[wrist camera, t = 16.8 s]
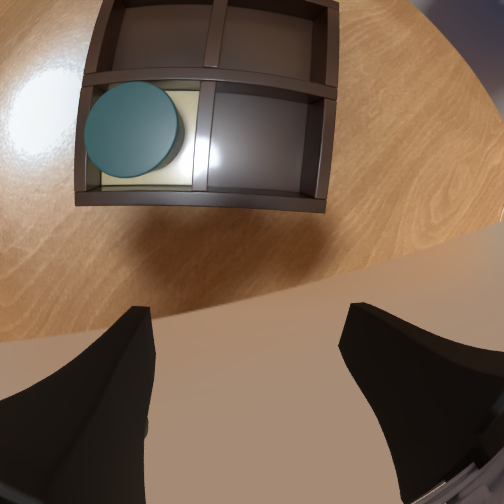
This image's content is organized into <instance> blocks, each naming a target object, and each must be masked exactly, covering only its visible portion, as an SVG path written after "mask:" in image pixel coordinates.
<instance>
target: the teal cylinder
mask: <svg viewBox="0 0 504 504" xmlns="http://www.w3.org/2000/svg"><path fill="white" fill-rule="evenodd" d="M184 136H185V128H184V123H183V120H182V117H181V115H180V113H179V112H178V110H177V108H176V106H175V104H174V102H173V101H172V99H171V98H170V96H169V95H168V94H167V93H166V92H165V91H164V90H163V89H161V88H160V87H158V86H156V85H154V84H152V83H148V82H143V81H132V82H126V83H122V84H120V85H117V86H115V87H113V88H112V89H110V90H108V91H107V92H106V93H104V94H103V95H102V96H101V97H100V98H99V99H98V100H97V101H96V103H95V104H94V106H93V107H92V109H91V110H90V112H89V114H88V117H87V120H86V123H85V129H84V143H85V147H86V151H87V153H88V156H89V158H90V159H91V161H92V162H93V164H94V165H95V166H96V167H97V168H98V169H99V170H101V171H102V172H104V173H105V174H107V175H110V176H113V177H117V178H134V177H139V176H141V175H144V174H147V173H150V172H153V171H155V170H158V169H161V168H163V167H165V166H166V165H168V164H169V163H170V162H171V161H172V160H173V159H174V158H175V157H176V156H177V154H178V153H179V151H180V150H181V147H182V145H183V142H184Z"/></svg>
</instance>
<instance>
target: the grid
mask: <svg viewBox="0 0 504 504" xmlns="http://www.w3.org/2000/svg"><path fill="white" fill-rule="evenodd" d="M338 70H339V2H336V1H333V0H103V2H102V5H101V8H100V11H99V14H98V17H97V20H96V24H95V27H94V31H93V34H92V38H91V42H90V46H89V50H88V54H87V59H86V63H85V68H84V76H83V81H82V88H81V91H80V98H79V106H78V115H77V125H76V138H75V158H74V191H75V206H197V207H226V208H248V209H266V210H282V211H297V212H310V213H323V214H324V213H325V210H326V202H327V200H326V199H327V194H328V186H329V178H330V169H331V161H332V151H333V141H334V130H335V118H336V104H337V102H336V100H337V87H338ZM132 81H143V82H148V83H152V84H154V85H156V86H158V87H160V88H161V89H163V90H164V91H165V92H166V93H167V94H168V95H169V96H170V98H171V99H172V101H173V102H174V104H175V106H176V108H177V110H178V112H179V113H180V115H181V117H182V120H183V123H184V128H185V136H184V142H183V145H182V147H181V150H180V151H179V153H178V154H177V156H176V157H175V158H174V159H173V160H172V161H171V162H170V163H169V164H168V165H166V166H165V167H163V168H161V169H158V170H155V171H153V172H150V173H147V174H144V175H141V176H139V177H134V178H117V177H113V176H110V175H107V174H105V173H104V172H102V171H101V170H99V169H98V168H97V167H96V166H95V165H94V164H93V162H92V161H91V159H90V158H89V156H88V153H87V151H86V147H85V143H84V129H85V123H86V120H87V117H88V114H89V112H90V110H91V109H92V107H93V106H94V104H95V103H96V101H97V100H98V99H99V98H100V97H101V96H102V95H103V94H104V93H106V92H107V91H108V90H110V89H112V88H113V87H115V86H117V85H120V84H122V83H126V82H132Z"/></svg>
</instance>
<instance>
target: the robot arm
mask: <svg viewBox="0 0 504 504" xmlns="http://www.w3.org/2000/svg"><path fill="white" fill-rule="evenodd" d="M338 347H339V349H340V352H341V354H342V357H343V359H344V362H345V364H346V366H347V368H348V370H349V371H350V373H351V375H352V376H353V378H354V379H355V381H356V383H357V385H358V386H359V388H360V389H361V391H362V393H363V394H364V396H365V398H366V399H367V401H368V402H369V404H370V406H371V407H372V409H373V411H374V413H375V415H376V417H377V419H378V421H379V424H380V426H381V428H382V431H383V433H384V436H385V438H386V441H387V444H388V447H389V449H390V452H391V455H392V459H393V462H394V465H395V469H396V473H397V478H398V483H399V489H400V496H401V500H402V502H403V503H404V504H411V503H413V502H415V501H416V500H418V499H420V498H421V497H423V496H424V495H426V494H428V493H429V492H431V491H432V490H434V489H435V488H437V487H438V486H440V485H441V484H443V483H444V482H446V483H445V484H444V485H443V486H441V487H440V488H438V489H437V490H435V491H434V492H432V493H431V494H429V495H428V496H426V497H425V498H423V499H421V500H420V501H418V502H416V503H415V504H444V503H446V502H447V503H446V504H504V352H500V351H492V350H486V349H481V348H476V347H472V346H468V345H464V344H461V343H457V342H454V341H451V340H449V339H445V338H442V337H440V336H437V335H435V334H433V333H430V332H428V331H426V330H423V329H421V328H419V327H417V326H415V325H413V324H411V323H409V322H406V321H404V320H402V319H400V318H398V317H396V316H394V315H392V314H390V313H388V312H386V311H384V310H382V309H379V308H377V307H375V306H372V305H370V304H367V303H364V302H362V303H351V304H350V308H349V311H348V315H347V318H346V322H345V325H344V328H343V332H342V335H341V338H340V341H339V345H338ZM155 359H156V352H155V345H154V338H153V330H152V322H151V313H150V307H142V306H132V307H131V308H130V309H129V310H128V311H127V312H125V313H124V314H123V315H122V316H121V317H120V318H119V319H118V320H117V321H116V322H115V323H114V324H113V325H112V326H111V327H110V328H109V329H108V330H107V331H106V332H105V333H104V334H103V335H102V336H101V337H100V338H98V339H97V340H96V341H95V342H94V343H92V344H91V345H90V346H89V347H88V348H87V349H85V350H84V351H83V352H82V353H81V354H80V355H78V356H77V357H76V358H74V359H73V360H72V361H70V362H69V363H68V364H66V365H65V366H63V367H62V368H61V369H59V370H58V371H56V372H55V373H53V374H52V375H50V376H48V377H46V378H45V379H43V380H41V381H39V382H38V383H36V384H34V385H32V386H31V387H29V388H27V389H25V390H23V391H21V392H19V393H17V394H15V395H12V396H10V397H8V398H5V399H3V400H1V401H0V504H146V501H145V487H144V437H145V428H146V422H147V416H148V410H149V404H150V399H151V393H152V388H153V382H154V372H155Z"/></svg>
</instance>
